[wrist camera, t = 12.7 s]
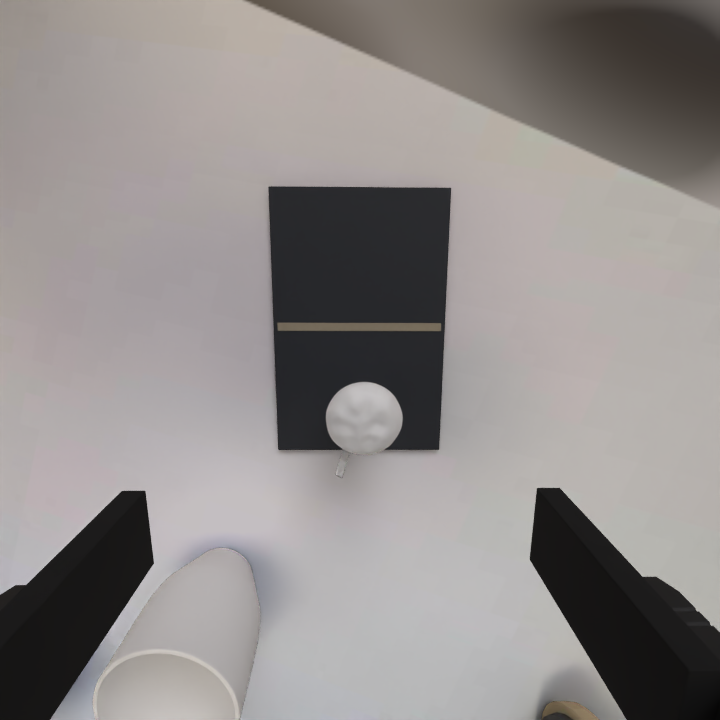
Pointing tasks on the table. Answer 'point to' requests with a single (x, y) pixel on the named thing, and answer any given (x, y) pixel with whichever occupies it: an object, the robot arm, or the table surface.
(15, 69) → the table surface
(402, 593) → the table surface
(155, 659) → the mug
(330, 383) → the desk mat
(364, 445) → the milkshake
